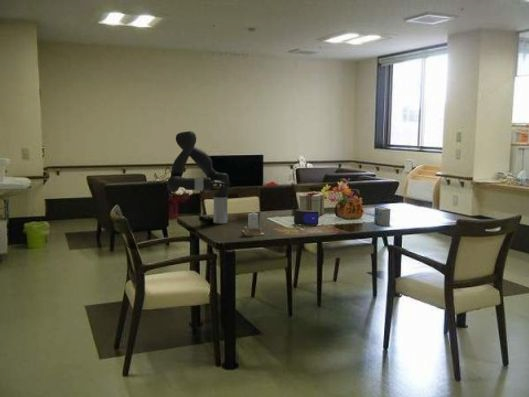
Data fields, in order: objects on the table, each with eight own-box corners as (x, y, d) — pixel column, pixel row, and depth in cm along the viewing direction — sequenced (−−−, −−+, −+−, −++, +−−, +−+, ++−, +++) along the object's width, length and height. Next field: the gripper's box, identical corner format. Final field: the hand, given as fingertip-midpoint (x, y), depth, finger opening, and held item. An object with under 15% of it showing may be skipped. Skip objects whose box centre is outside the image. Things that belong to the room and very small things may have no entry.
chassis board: (242, 231, 324) (242, 225, 323) (259, 231, 326) (259, 224, 326) (246, 235, 311) (246, 229, 311) (264, 235, 314) (264, 228, 313)
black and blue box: (293, 224, 350) (293, 210, 348) (294, 223, 354) (294, 209, 353) (317, 225, 347) (318, 211, 346) (318, 224, 352) (318, 210, 350)
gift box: (300, 212, 404) (301, 189, 402) (324, 213, 398) (325, 191, 396) (294, 215, 388) (295, 192, 386) (319, 217, 382) (319, 193, 380)
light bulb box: (373, 222, 363) (374, 206, 362) (382, 222, 365) (383, 206, 363) (381, 225, 353) (381, 209, 351) (390, 224, 354) (390, 208, 353)
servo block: (248, 231, 320) (248, 212, 319) (256, 231, 322) (256, 212, 320) (249, 233, 316) (249, 213, 314) (257, 232, 317) (258, 213, 315)
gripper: (203, 178, 303) (231, 178, 306) (200, 176, 317) (227, 176, 320) (203, 191, 304) (231, 191, 307) (200, 188, 317) (227, 188, 321)
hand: (229, 183), depth 314 cm, fingers open, 8 cm apart
